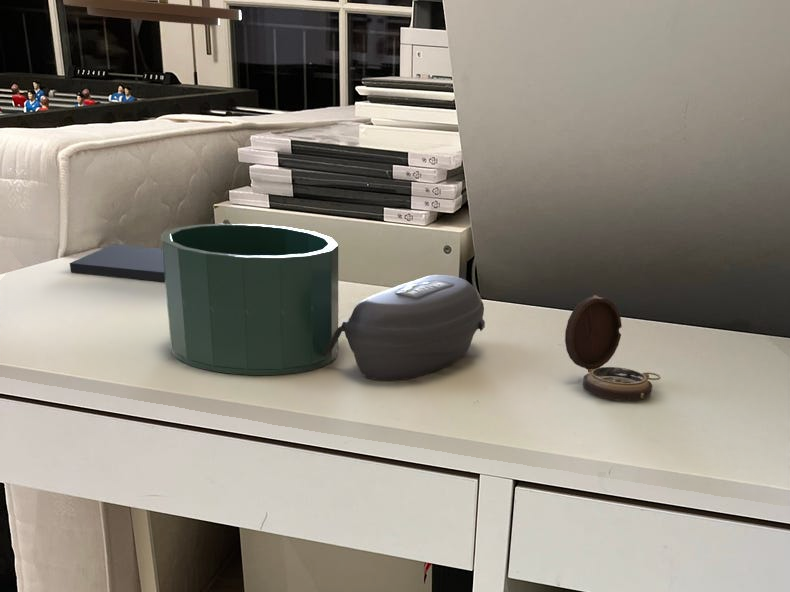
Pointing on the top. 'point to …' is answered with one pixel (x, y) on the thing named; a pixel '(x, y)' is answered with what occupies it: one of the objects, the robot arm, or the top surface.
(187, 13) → the lid
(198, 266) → the toy tin
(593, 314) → the compass
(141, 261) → the mat
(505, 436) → the top surface
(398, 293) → the glasses case
